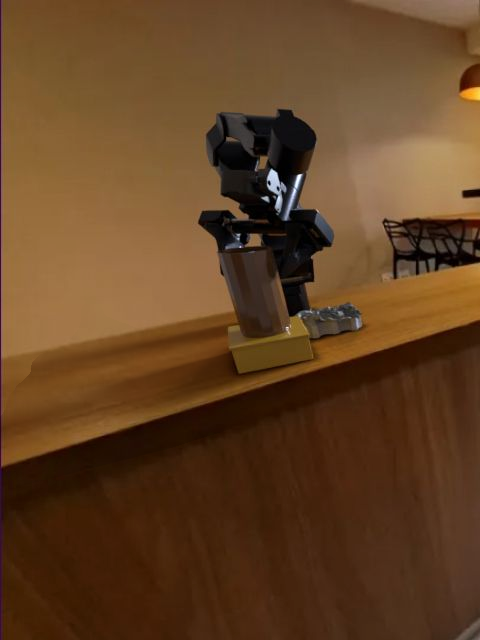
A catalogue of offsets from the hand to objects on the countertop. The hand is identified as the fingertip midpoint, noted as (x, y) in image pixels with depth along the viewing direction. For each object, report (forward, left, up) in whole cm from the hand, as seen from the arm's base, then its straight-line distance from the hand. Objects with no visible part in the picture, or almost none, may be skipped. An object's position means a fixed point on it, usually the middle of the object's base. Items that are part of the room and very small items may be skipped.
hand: (252, 276), depth 64 cm
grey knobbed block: (-8, +10, -12) cm, 18 cm away
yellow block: (0, 0, -12) cm, 12 cm away
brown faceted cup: (0, 0, -8) cm, 8 cm away
